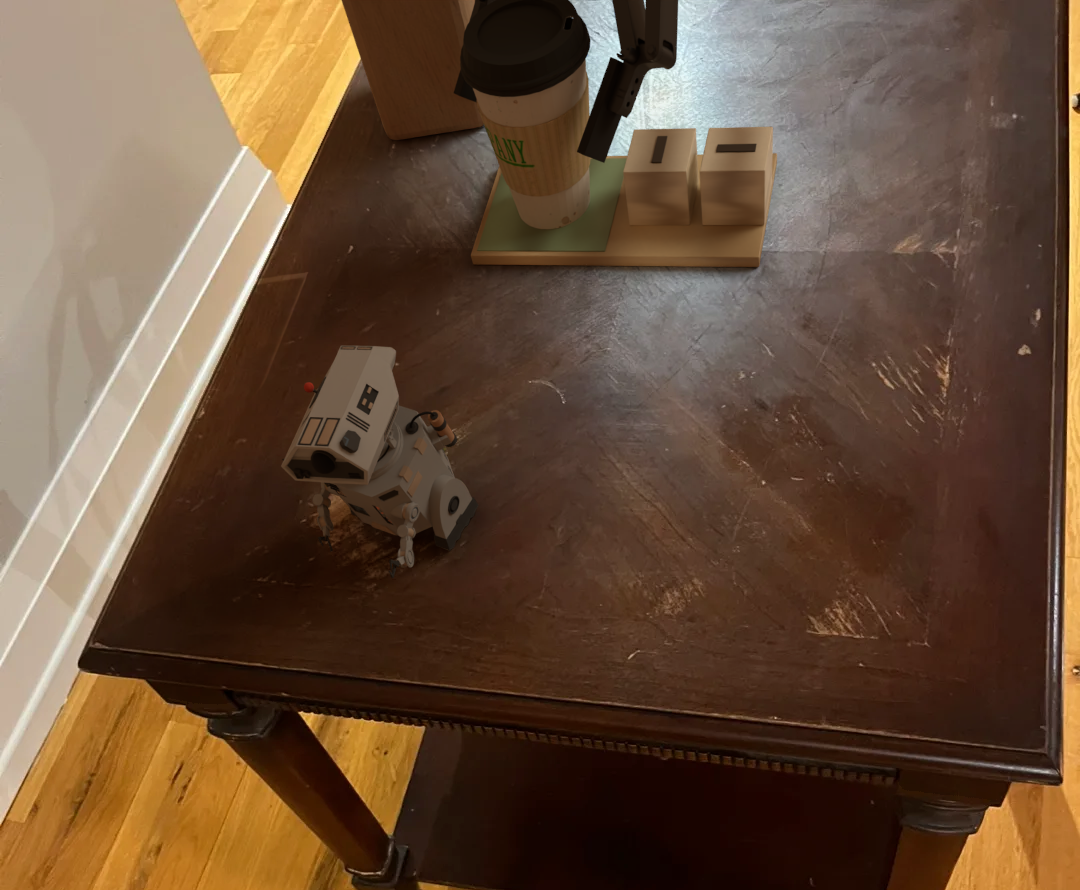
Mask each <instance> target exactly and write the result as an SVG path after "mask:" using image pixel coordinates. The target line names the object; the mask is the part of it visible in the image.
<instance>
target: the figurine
mask: <svg viewBox="0 0 1080 890" xmlns="http://www.w3.org/2000/svg"><path fill="white" fill-rule="evenodd" d="M396 357H397V350H395V349H394V348H393V347H392V346H379V345H378V346H377V345H340V347H339V349H338V351H337V354H336V356H335V358H334V359H333V362H332V363H331V365H330V367H329V368H328V370H327V372H326V374H325V376H324V377H323V379H322V381H321V382H320V384H319V385H318V387H317V389H315V385H314V383H312V382H309V381H308V382H305V383H304V385H303V389H304V391H305V392H306V393H309V394H310V393H314V394H313V395H312V398H311V400H310V403H309V405H308V406H307V409H306V411H305V413H304V416H303V417H302V420H301V422H300V424H299V427H298V429H297V430H296V433H295V435H294V436H293V439H292V442H291V443H290V446H289V448H288V450H287V453H286V454H285V456H284V458H282V459H281V460H282V463H281V465H280V467H281V468H282V469H283V470H284V471H285V473H287V474H288V476H290V477H291V478H292V479H293V480H294V481H296V482H297V481H298V482H310V483H311V482H313V483H320V487H321V489H320V492H319V493H316V494H314V495H313V496H312V503H313V505H314V506H316V512H317V515H318V516H317V517H316V522H317V524H318V527H319V529H320V530H321V531H322V535H323V536H318V537H317V540H318V541H319V543H320V545H321V546H322V547H324V544H323V542H327V545H328V547H329V552H330V553H331V552H334V549H333V547H332V544H331V541H330V538H331V533H330V531H331V532H333V531H334V529H335V528H334V523H333V521H332V519H331V510H330V507H331V505H332V501H331V500H332V499H330V498H329V496H330V494H332V495H335V496H338V497H339V498H340V499H341V500H342V501H343V502H344V503H345V505H346V506H347V507H348V508H349V511H350V514H351V516H354V517H357V518H358V519H359V520H360V521H361V522H362V523H364V524H367V525H370V526H371V527H372V528H374V529H377V530H379V531H383V532H385V533H388V534H391V535H393V536H399V537H400V540H399V546H400V548H399V549H398V551H397V558H396V559H389V561H388V562H389V567H390V570H388V572H389V575H390V578H391V579H394V577H395V574H396V571H397V568H399V567H400V568H402V569H404V568H406V567H408V568H413V566H414V564H415V553H414V550H413V544H414V541H413V539H414V538H415V536H416V534H418V533H421V532H423V531H425V530H427V529H430V528H432V530H433V532H434V534H433V540H434V544H435V547H438V548H441V549H444V550H447V551H451V550H452V549H454V548H455V547H456V542H457V541H459V540H460V539H461V537H462V532H463V531H464V529H465V528H466V527H468V526H469V524H470V521H471V519H472V518H474V517H475V514H476V510H477V509H478V508H479V503H478V502H477V500H476V498H475V497H473V496H472V495H471V493H470V491H469V489H468V487H467V486H466V484H465V483H464V482H463V481H462V480H461V479H459V478H457V477H455V475H454V471H453V468H452V465H451V463H450V460H449V457H448V456H447V454H446V453H445V452H446V450H447V448H452V447H454V446H455V445H456V444H457V442H458V436H457V435H456V433H455V432H454V431H452V429H451V427H450V425H449V424H448V422H447V419H446V418H445V417H444V416H443V414H442V412H441V411H439V410H437V409H433V410H430V411H423V412H422V411H421V412H420V413H419V412H418V411H417V410H415V409H411V408H408V407H406V406H402V405H399V404H400V403H399V401H400V396H399V392H398V388H397V385H396V381H395V377H394V374H393V369H394V366H395V365H396ZM425 415H427V420H428V421H429V423H430V425H429V426H427V424H426V422H425V421H424V420H423V418H422V416H425Z"/></svg>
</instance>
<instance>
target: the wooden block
mask: <svg viewBox="0 0 1080 890" xmlns="http://www.w3.org/2000/svg"><path fill="white" fill-rule="evenodd" d="M341 3H342V6H343V9H344V12H345V15H346V18H347V22H348V25H349V27H350V31H351V33H352V36H353V39H354V43H355V46H356V49H357V51H358V55H359V57H360V61H361V64H362V68H363V70H364V72H365V73H364V74H365V76H366V78H367V82H368V85H369V88H370V90H371V94H372V97H373V100H374V103H375V106H376V109H377V113H378V115H379V118H380V121H381V124H382V127H383V130H384V132H385V134H386V136H387V137H388V138H389V139H390V140H393V141H400V140H401V141H402V140H407V139H413V138H418V137H426V136H432V135H437V134H445V133H451V132H457V131H463V130H469V129H470V130H471V129H476V128H481V127H483V126H484V124H483V121H482V118H481V116H480V113H479V110H478V107H477V103H476V102H474V101H471V100H468V99H466V98H463V97H461V96H458V95H456V94H454V90H455V86H456V83H457V79H458V76H459V73H460V69H461V67H460V55H461V49H462V46H463V38H464V31H465V29H466V27H467V24H468V23H469V21H470V17H471V14H472V11H473V7H474V3H475V0H341Z"/></svg>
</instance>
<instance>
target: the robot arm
mask: <svg viewBox="0 0 1080 890" xmlns="http://www.w3.org/2000/svg"><path fill="white" fill-rule="evenodd" d="M494 1H496V0H475V3H474V7H473V11H472V14H471V17H470V20H471V19H472V17H474V16H475V15H476V14H477V13H478V12H479V11H480V10H481V9H483V8H484V7H485V6H487V5H488V4H490V3H492V2H494ZM611 1H612V6H613V11H614V12H613V13H614V18H615V25H616V30H617V37H618V41H619V42H618V43H619V47H620V51H619V53H618V52H617V53H616V58H615V57H612V56H610V57H609V60H608V63H607V64H606V68H605V71H604V74H603V77H602V80H601V82H600V86H599V88H598V91H597V94H596V96H595V100H594V102H593V105H592V108H591V111H590V112H589V119H588V122H587V124H586V127H585V130H584V133H583V136H582V139H581V141H580V144H579V147H578V150H577V152H578V153H580V154H582V155H584V156H587V157H590V158H592V159H595V160H598V161H600V162H603V163H605V160H606V157H607V156H608V155H609V152H610V149H611V146H612V143H613V141H614V138H615V135H616V132H617V131H618V127H619V125H620V122H621V119H622V117H623V118H625V119H627V118H628V117H629V116H630V115H631V113H632V111H633V109H634V105H635V103H636V100H637V97H638V95H639V92H640V90H641V87H642V84H643V82H644V79H645V77H646V75H647V73H648V72H649V71H651V70H654V69H665V70H671V69H673V68H674V67H675V65H676V63H677V60H678V59H677V56H678V28H679V27H678V26H679V25H678V23H679V21H678V20H679V0H611ZM469 22H470V21H469ZM617 58H618V59H617ZM454 94H456V95H458V96H461V97H463V98H466V99H468V100H471V101H474V102H476V103H477V98H476V96H475V93H474V90H473V88H472V87H471V86H470V85H469V84H468V83H467V82H466V81H465V79H464V77H463V76H462V73H461V69H460V73H459V76H458V79H457V83H456V86H455V90H454Z"/></svg>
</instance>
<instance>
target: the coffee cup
mask: <svg viewBox="0 0 1080 890" xmlns="http://www.w3.org/2000/svg"><path fill="white" fill-rule="evenodd" d="M590 48H591V36H590V32H589V30H588V26H587V24H586V22H585V21H584V19H583V18H582V16H581V15H580V14H579V13H578V11H577V8H576V7H575V5H574V4H573V2H571V1H570V0H496V1H494V2H492V3H490V4H488V5H487V6H485V7H484V8H483V9H481V10H480V11H479V12H478V13H477V14H476V15H475V16H474V17H472V19H471V20H470V22H469V23H468V24H467V27H466V29H465V31H464V38H463V46H462V49H461V55H460V67H461V73H462V76H463V77H464V79H465V81H466V82H467V83H468V84H469V85H470V86H471V87H472V88H473V90H474V93H475V96H476V98H477V107H478V110H479V113H480V116H481V118H482V121H483V124H484V125H483V126H484V129H485V131H486V135H487V138H488V139H489V142H490V145H491V147H492V150H493V154H494V156H495V158H496V161H497V164H498V167H499V166H500V169H501V172H502V174H503V177H504V180H505V181H506V183H507V185H508V186H509V188H510V191H511V193H512V196H513V199H514V202H515V204H516V207H517V210H518V213H519V215H520V217H521V219H522V220H523V221H524V222H525V223H526V224H528V225H529V226H532V227H534V228H538V229H556V228H560V227H564V226H566V225H569V224H571V223H572V222H574V221H576V220H577V219H578V218H580V217H581V216H582V215H583V214H584V213H585V211H586V210H587V208H588V206H589V203H590V178H589V165H590V157H587V156H584V155H582V154H580V153H578V152H577V150H578V147H579V144H580V141H581V139H582V136H583V133H584V130H585V127H586V124H587V122H588V119H589V116H590V82H589V81H590V79H589V76H588V72H587V57H588V55H589V53H590Z"/></svg>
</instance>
